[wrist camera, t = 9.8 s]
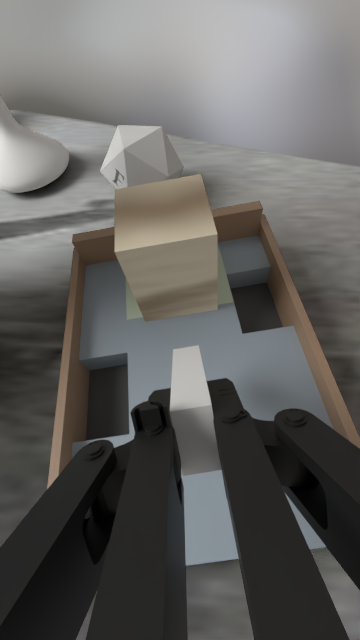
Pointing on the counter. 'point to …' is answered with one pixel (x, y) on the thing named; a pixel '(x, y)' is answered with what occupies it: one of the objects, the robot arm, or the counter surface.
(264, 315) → the box
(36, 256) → the counter surface
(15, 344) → the counter surface
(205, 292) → the block
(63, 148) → the flower in vase
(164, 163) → the die
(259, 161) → the counter surface
